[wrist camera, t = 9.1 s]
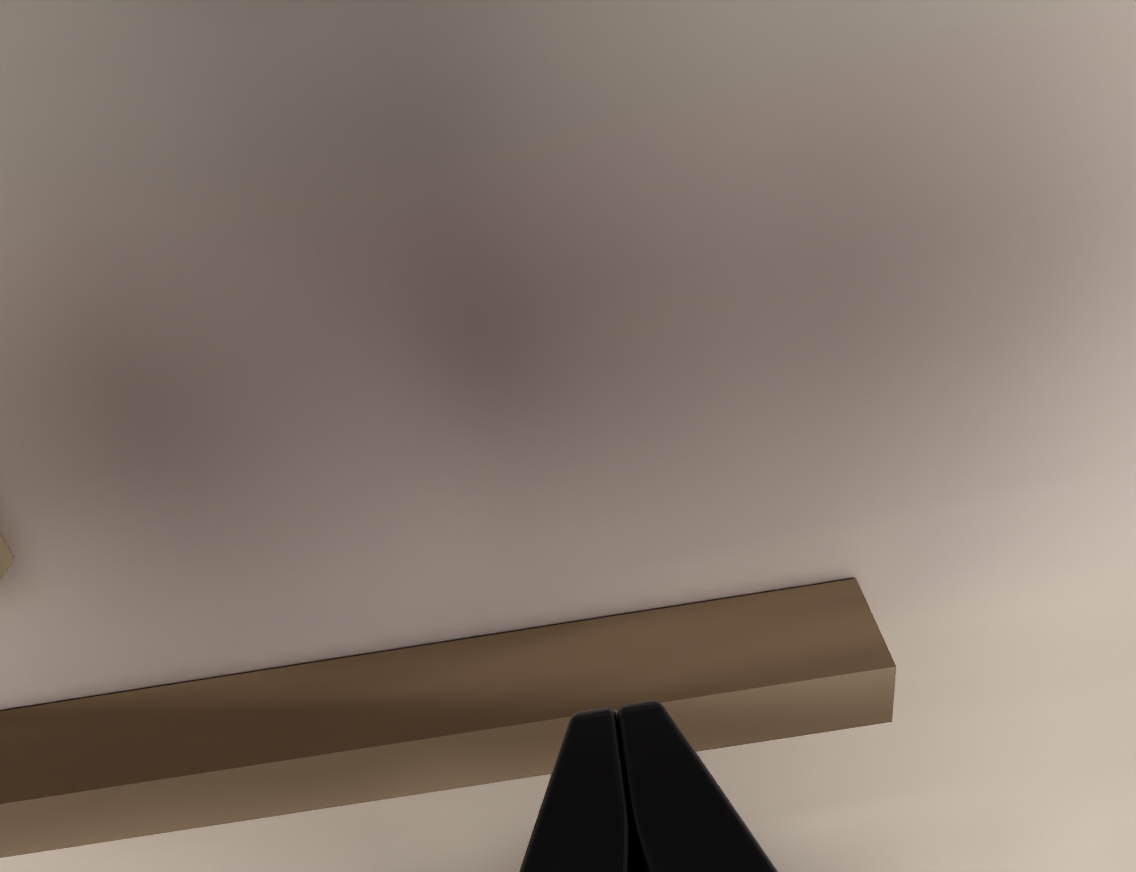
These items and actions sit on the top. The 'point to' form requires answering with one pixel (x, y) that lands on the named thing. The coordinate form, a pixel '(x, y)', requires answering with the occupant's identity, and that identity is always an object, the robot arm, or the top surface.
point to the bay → (432, 715)
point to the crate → (4, 557)
